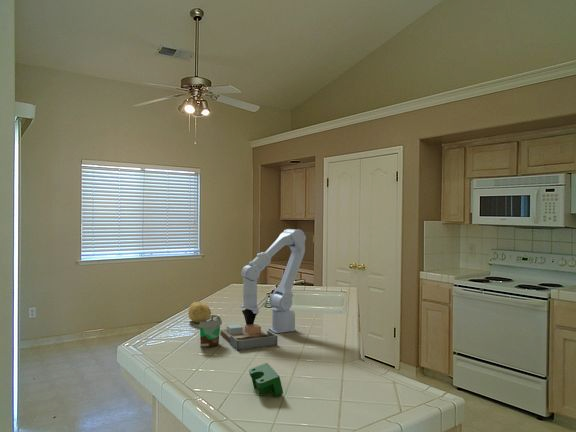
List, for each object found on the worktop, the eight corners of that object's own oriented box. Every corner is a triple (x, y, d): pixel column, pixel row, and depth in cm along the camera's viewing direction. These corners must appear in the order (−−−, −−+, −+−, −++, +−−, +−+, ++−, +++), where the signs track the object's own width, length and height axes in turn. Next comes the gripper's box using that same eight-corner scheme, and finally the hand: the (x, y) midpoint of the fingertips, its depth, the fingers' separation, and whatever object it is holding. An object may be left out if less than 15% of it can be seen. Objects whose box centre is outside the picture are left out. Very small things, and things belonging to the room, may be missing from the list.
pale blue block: (238, 330, 174) (238, 324, 174) (242, 333, 169) (242, 327, 169) (226, 331, 171) (226, 325, 171) (230, 334, 167) (230, 328, 167)
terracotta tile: (256, 329, 174) (256, 323, 174) (260, 332, 170) (260, 326, 170) (244, 331, 172) (244, 325, 172) (249, 334, 168) (249, 328, 168)
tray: (268, 339, 168) (268, 330, 168) (277, 345, 160) (277, 336, 160) (230, 344, 161) (230, 335, 161) (237, 350, 153) (237, 341, 153)
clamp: (256, 401, 121) (247, 370, 124) (275, 394, 124) (265, 363, 126) (264, 402, 111) (253, 367, 113) (285, 393, 113) (274, 360, 115)
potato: (188, 326, 186) (188, 305, 186) (188, 318, 200) (188, 298, 200) (211, 325, 188) (211, 304, 188) (210, 318, 202) (210, 298, 202)
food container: (214, 350, 154) (215, 323, 154) (198, 349, 155) (199, 322, 155) (226, 340, 166) (226, 315, 166) (211, 339, 167) (211, 314, 167)
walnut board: (254, 330, 180) (254, 326, 180) (267, 339, 168) (267, 334, 168) (220, 334, 174) (220, 329, 174) (231, 344, 161) (231, 338, 161)
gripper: (235, 292, 179) (234, 324, 179) (247, 298, 166) (246, 332, 166) (250, 291, 182) (250, 322, 182) (263, 297, 169) (263, 331, 169)
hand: (249, 327), depth 174 cm, fingers closed
